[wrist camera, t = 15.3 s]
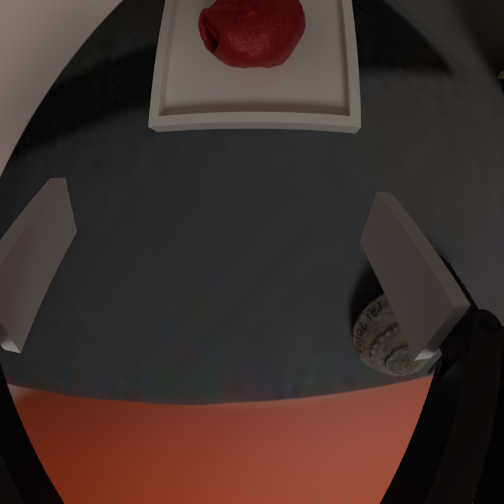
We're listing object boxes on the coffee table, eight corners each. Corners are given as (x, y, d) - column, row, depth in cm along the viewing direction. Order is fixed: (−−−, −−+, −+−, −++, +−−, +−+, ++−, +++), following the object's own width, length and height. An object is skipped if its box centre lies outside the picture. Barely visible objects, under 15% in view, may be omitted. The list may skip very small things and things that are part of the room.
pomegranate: (311, 11, 26) (316, -43, 17) (294, 88, 28) (295, 44, 19) (221, 0, 27) (201, -51, 18) (197, 73, 29) (165, 31, 20)
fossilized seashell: (334, 308, 30) (378, 333, 23) (408, 250, 32) (457, 260, 25) (366, 379, 33) (405, 409, 26) (429, 324, 34) (471, 342, 28)
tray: (158, 131, 31) (148, 126, 29) (176, -13, 28) (170, -24, 26) (355, 133, 29) (361, 127, 26) (344, -18, 26) (346, -30, 24)
